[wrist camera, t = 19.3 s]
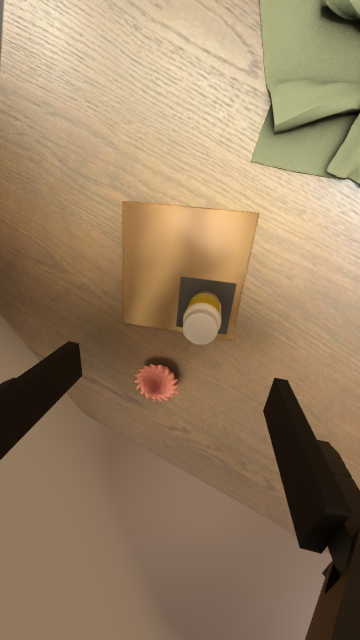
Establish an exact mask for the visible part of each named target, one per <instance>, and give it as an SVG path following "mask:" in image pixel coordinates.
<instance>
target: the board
mask: <svg viewBox="0 0 360 640" xmlns="http://www.w3.org/2000/svg"><path fill="white" fill-rule="evenodd" d="M122 207H123V294H124V323H129V324H135V325H141V326H147V327H153V328H159V329H166V330H172V331H178V332H183V316H184V313H185V311H186V309H187V306H188V304H189V302H190V300H191V298H192V297H193V296H194V295H195V294H197V293H199V292H204V291H206V292H211V293H213V294H214V295H216V296H217V298H218V299H219V301H220V304H221V326H220V329H219V331H218V333H217V336H216V337H215V338H220V339H226V340H232V336H233V331H234V327H235V322H236V318H237V313H238V308H239V304H240V299H241V295H242V290H243V286H244V281H245V276H246V272H247V267H248V263H249V258H250V253H251V249H252V244H253V240H254V235H255V230H256V226H257V221H258V217H259V213H256V212H245V211H233V210H221V209H210V208H198V207H186V206H174V205H163V204H151V203H139V202H128V201H123V202H122Z"/></svg>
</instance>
